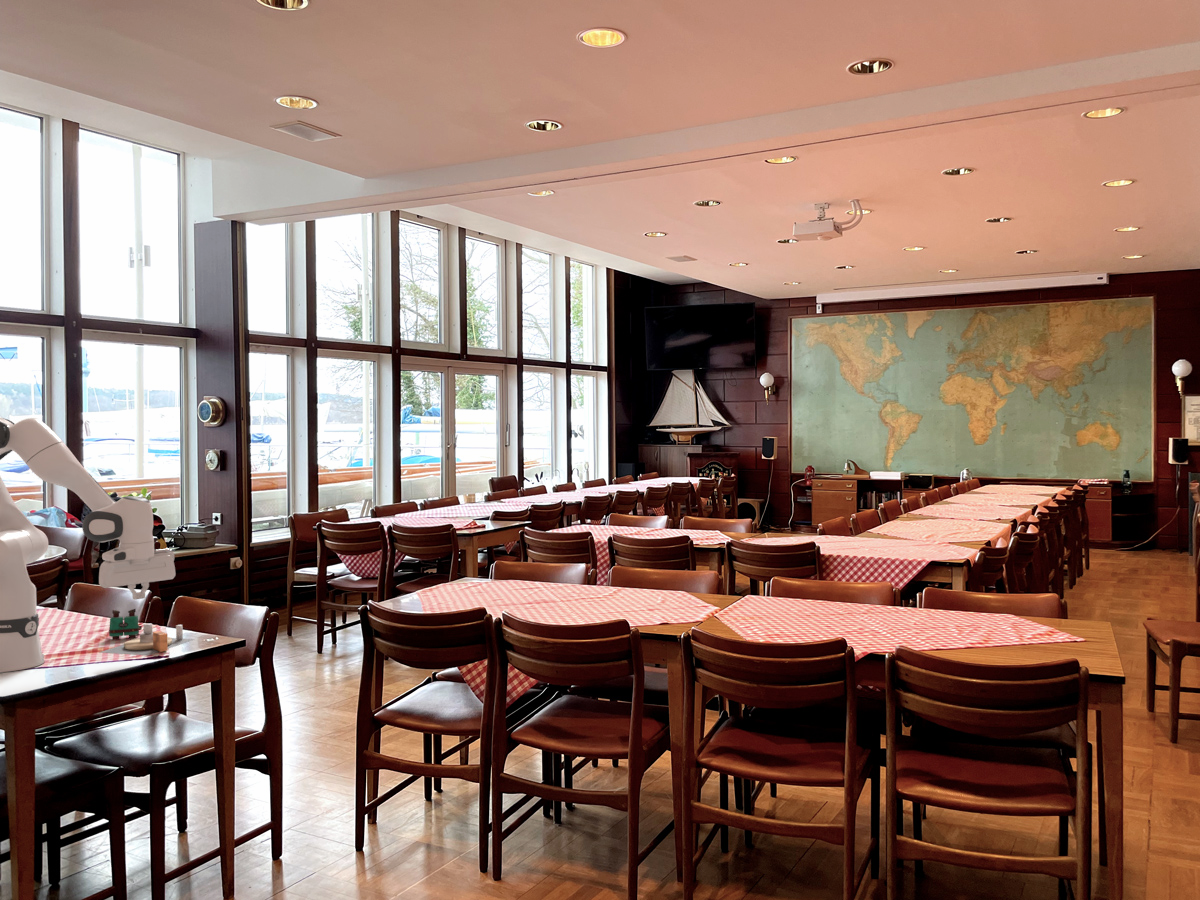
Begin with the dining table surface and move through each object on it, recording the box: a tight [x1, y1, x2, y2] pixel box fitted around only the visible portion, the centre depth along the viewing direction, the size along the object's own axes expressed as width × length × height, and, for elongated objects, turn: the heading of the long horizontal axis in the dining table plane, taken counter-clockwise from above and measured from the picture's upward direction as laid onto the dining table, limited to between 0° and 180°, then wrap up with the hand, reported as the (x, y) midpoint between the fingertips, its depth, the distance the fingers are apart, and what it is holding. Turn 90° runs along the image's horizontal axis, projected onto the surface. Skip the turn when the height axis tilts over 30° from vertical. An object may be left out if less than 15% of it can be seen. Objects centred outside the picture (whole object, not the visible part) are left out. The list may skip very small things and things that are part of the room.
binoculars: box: [108, 608, 142, 641], centre depth 282 cm, size 9×11×10 cm
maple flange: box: [123, 630, 173, 653], centre depth 268 cm, size 18×13×5 cm
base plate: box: [99, 623, 195, 656], centre depth 270 cm, size 17×20×8 cm
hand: (138, 598), depth 260 cm, fingers closed
